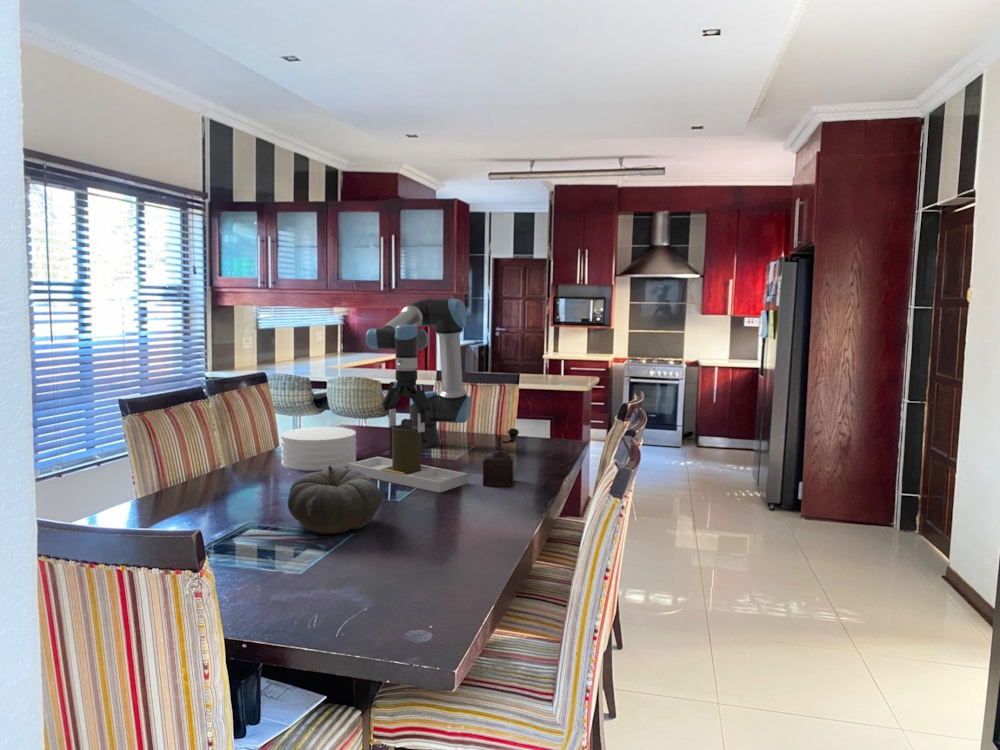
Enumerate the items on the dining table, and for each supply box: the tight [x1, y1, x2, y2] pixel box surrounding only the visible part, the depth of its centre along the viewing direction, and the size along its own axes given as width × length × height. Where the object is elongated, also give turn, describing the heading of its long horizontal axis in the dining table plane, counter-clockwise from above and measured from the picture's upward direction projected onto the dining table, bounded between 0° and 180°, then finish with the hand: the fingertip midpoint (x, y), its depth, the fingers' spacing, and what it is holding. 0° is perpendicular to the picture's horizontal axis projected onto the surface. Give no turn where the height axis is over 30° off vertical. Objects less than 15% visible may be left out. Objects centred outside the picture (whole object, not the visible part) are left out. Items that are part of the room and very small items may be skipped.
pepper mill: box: [482, 428, 520, 488], centre depth 243 cm, size 16×11×18 cm
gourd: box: [287, 466, 382, 535], centre depth 192 cm, size 25×25×17 cm
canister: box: [389, 418, 422, 475], centre depth 245 cm, size 11×10×20 cm
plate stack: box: [280, 426, 357, 471], centre depth 269 cm, size 28×28×12 cm
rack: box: [347, 456, 469, 493], centre depth 246 cm, size 43×15×4 cm, turn 55°
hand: (406, 429), depth 245 cm, fingers open, 13 cm apart
